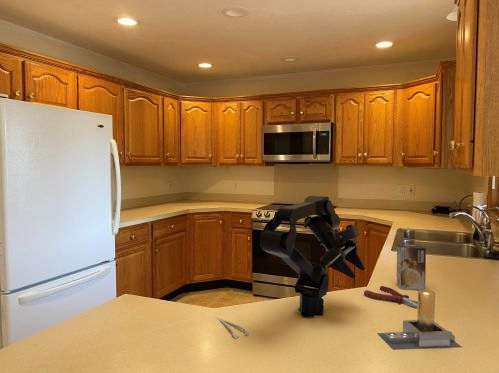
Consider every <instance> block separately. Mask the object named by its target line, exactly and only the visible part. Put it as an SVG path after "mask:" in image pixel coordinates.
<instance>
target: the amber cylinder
mask: <svg viewBox="0 0 499 373" xmlns="http://www.w3.org/2000/svg"><path fill="white" fill-rule="evenodd" d="M417 302H418V308H417V315H416V317H417V319H416V320H417V329H418V330H419V331H421V332H431V331H434V323H436V322H435V320H436V319H435V316H436V292H435V291H434V290H429V289H425V290H418V291H417Z"/></svg>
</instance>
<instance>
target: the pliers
mask: <svg viewBox="0 0 499 373" xmlns="http://www.w3.org/2000/svg"><path fill="white" fill-rule="evenodd" d="M380 290H381V292H383V291H384V292H383V293H380V292H375V291H371V290H368V289H366V290H364V291H363V295H365V296H364V297H366V296H367V298H369V299H372V300H376V301H381V300H382V301H383V302H390V303H395V304H397V305H399V306H400V305H401V304H403V305H405V306H407V307H408V306H409V307H413V308H415V309H418V300H414V299H411V298H410V297H409V295H408V294H402V293H400V292H398V291H397V290H396V289H394V288H391V287H387V286H385V285H381V286H379V291H380ZM386 292H387V294H386ZM389 293H390V294H389ZM391 294H392V295H391Z"/></svg>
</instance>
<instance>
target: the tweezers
mask: <svg viewBox="0 0 499 373" xmlns="http://www.w3.org/2000/svg"><path fill="white" fill-rule="evenodd" d="M217 321H219V322H220V323H221V324H222V325H223V326H224V327H225V328H226V329H227V330H228V331H229V333H230V334H231V335H232V337H233V338H234V339H239V338H240V336H239V335H237V334H235V332H234V331H233V330H232V328H234V329H236V330H237V331H239V332H241V333H243V334H244V336H246V337H247V336H249V335H250V333H249V331H248V330H246V329H245V328H243V327H242V326H240V325H238V324H235V323H232V322H230V321H226V320H224V319H221V318H217ZM228 325H229V326H231V327H232V328H230V327H229V326H228Z"/></svg>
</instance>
